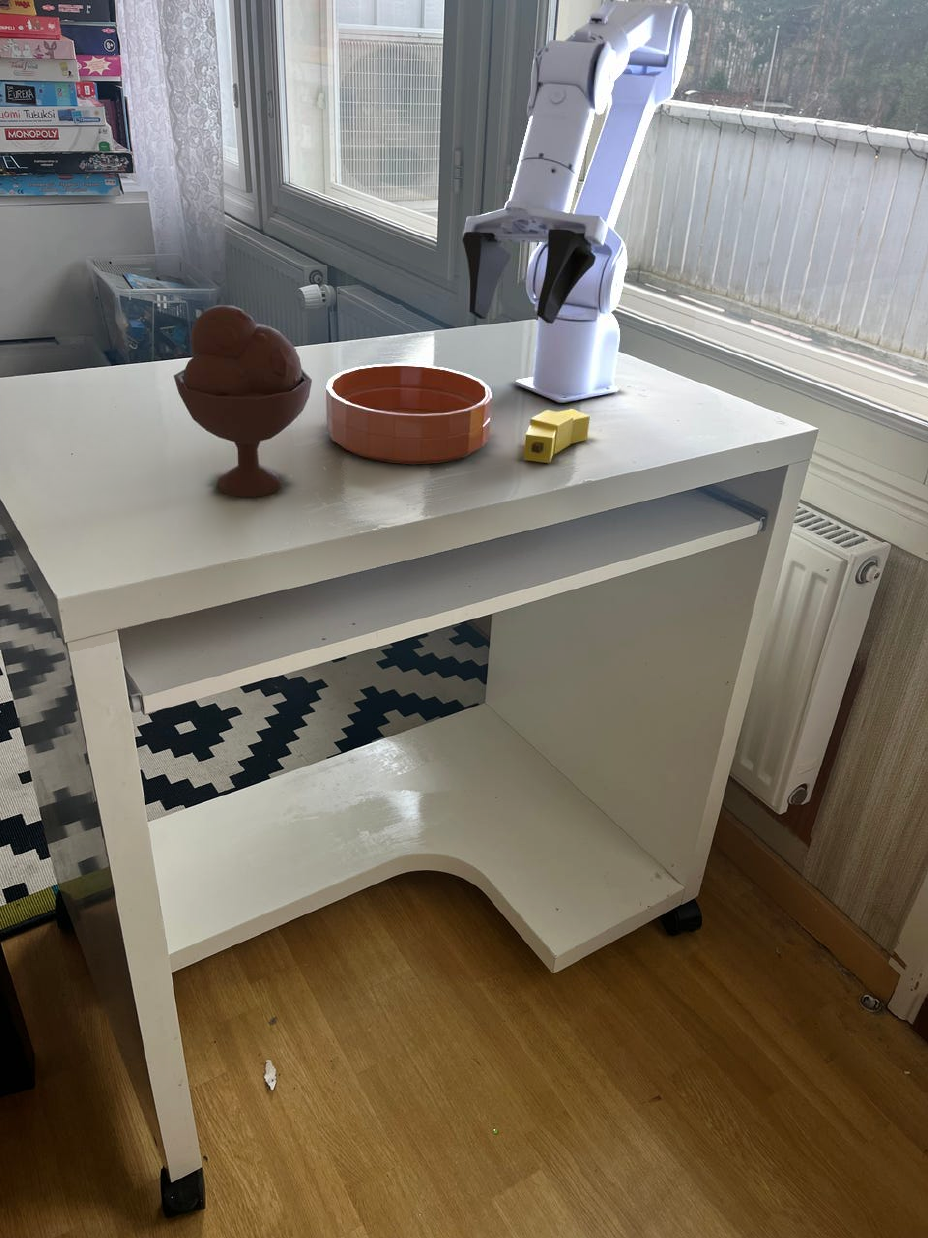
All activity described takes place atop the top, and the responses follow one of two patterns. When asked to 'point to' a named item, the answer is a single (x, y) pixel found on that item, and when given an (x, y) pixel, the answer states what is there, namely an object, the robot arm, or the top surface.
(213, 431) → the ice cream bowl
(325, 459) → the top surface
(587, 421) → the yellow banana
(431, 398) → the bowl
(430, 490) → the top surface
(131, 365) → the top surface
